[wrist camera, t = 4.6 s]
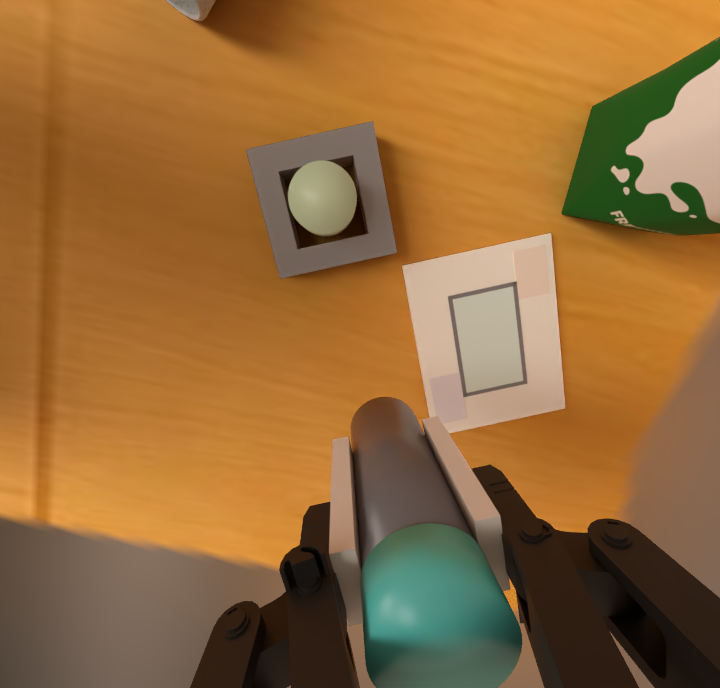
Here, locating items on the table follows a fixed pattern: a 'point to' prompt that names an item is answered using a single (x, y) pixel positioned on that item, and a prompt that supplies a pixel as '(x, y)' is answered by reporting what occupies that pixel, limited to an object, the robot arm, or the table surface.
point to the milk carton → (655, 152)
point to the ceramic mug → (193, 8)
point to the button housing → (269, 178)
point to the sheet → (488, 333)
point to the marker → (422, 565)
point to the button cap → (322, 198)
